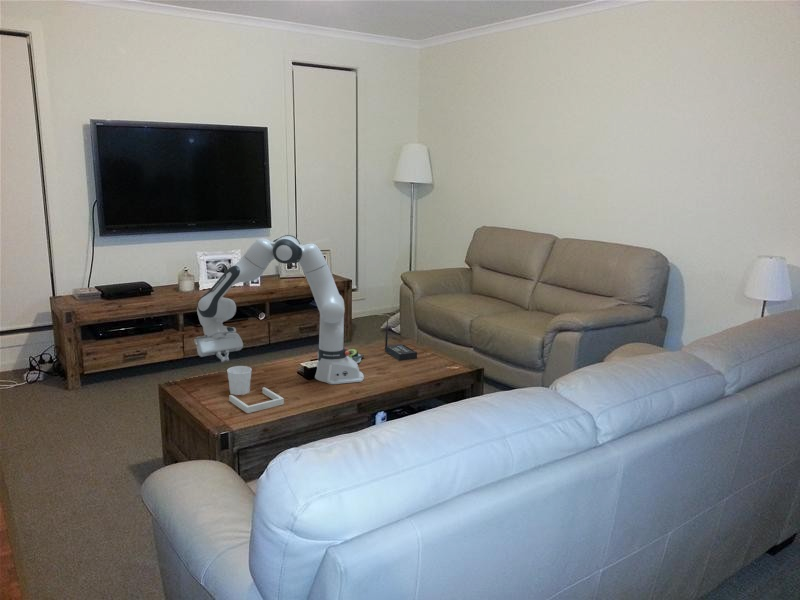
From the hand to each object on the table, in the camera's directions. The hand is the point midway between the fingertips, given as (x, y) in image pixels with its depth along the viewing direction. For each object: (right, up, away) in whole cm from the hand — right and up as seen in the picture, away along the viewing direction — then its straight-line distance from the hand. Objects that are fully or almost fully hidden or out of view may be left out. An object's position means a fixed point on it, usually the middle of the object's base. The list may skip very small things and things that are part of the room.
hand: (225, 361), depth 270 cm
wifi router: (+76, -2, +55) cm, 94 cm away
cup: (+8, -13, -7) cm, 16 cm away
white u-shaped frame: (+17, -15, -17) cm, 28 cm away
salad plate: (+49, -4, +42) cm, 64 cm away
